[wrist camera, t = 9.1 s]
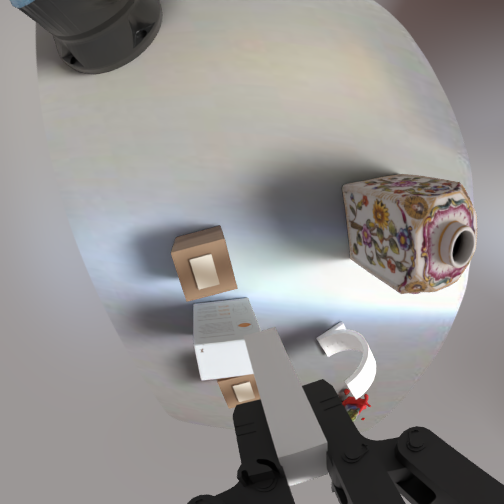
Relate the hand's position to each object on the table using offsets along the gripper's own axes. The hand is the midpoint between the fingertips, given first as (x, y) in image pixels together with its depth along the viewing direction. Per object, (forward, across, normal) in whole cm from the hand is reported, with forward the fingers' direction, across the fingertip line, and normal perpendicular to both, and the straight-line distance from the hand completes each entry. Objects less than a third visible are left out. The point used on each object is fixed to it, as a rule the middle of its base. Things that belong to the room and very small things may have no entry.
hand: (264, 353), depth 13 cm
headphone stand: (+25, +14, -23) cm, 37 cm away
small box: (+26, -3, -13) cm, 29 cm away
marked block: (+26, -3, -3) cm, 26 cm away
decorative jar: (+26, +23, -4) cm, 35 cm away
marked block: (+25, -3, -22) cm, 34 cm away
